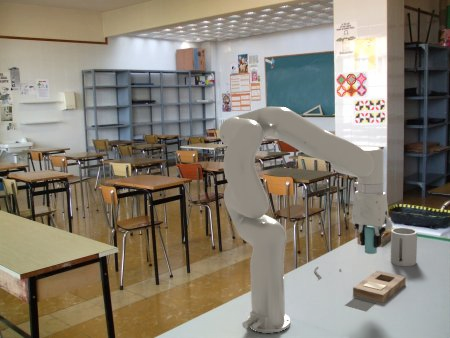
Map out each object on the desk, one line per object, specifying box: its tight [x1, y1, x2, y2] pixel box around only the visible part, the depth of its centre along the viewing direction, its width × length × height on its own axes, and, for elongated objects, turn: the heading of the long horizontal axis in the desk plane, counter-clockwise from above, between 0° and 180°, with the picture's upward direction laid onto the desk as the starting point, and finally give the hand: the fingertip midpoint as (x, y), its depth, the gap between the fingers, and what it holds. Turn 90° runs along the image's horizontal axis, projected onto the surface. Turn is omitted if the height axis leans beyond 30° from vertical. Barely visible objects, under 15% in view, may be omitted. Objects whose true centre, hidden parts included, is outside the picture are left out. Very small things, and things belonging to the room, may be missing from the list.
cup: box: [390, 227, 418, 267], centre depth 189 cm, size 9×9×12 cm
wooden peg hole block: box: [352, 270, 407, 303], centre depth 165 cm, size 18×10×3 cm, turn 139°
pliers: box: [313, 266, 342, 281], centre depth 177 cm, size 10×1×20 cm
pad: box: [344, 296, 377, 312], centre depth 155 cm, size 7×7×1 cm
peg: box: [364, 225, 378, 255], centre depth 156 cm, size 4×4×8 cm
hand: (370, 245), depth 156 cm, fingers closed on peg, 3 cm apart
